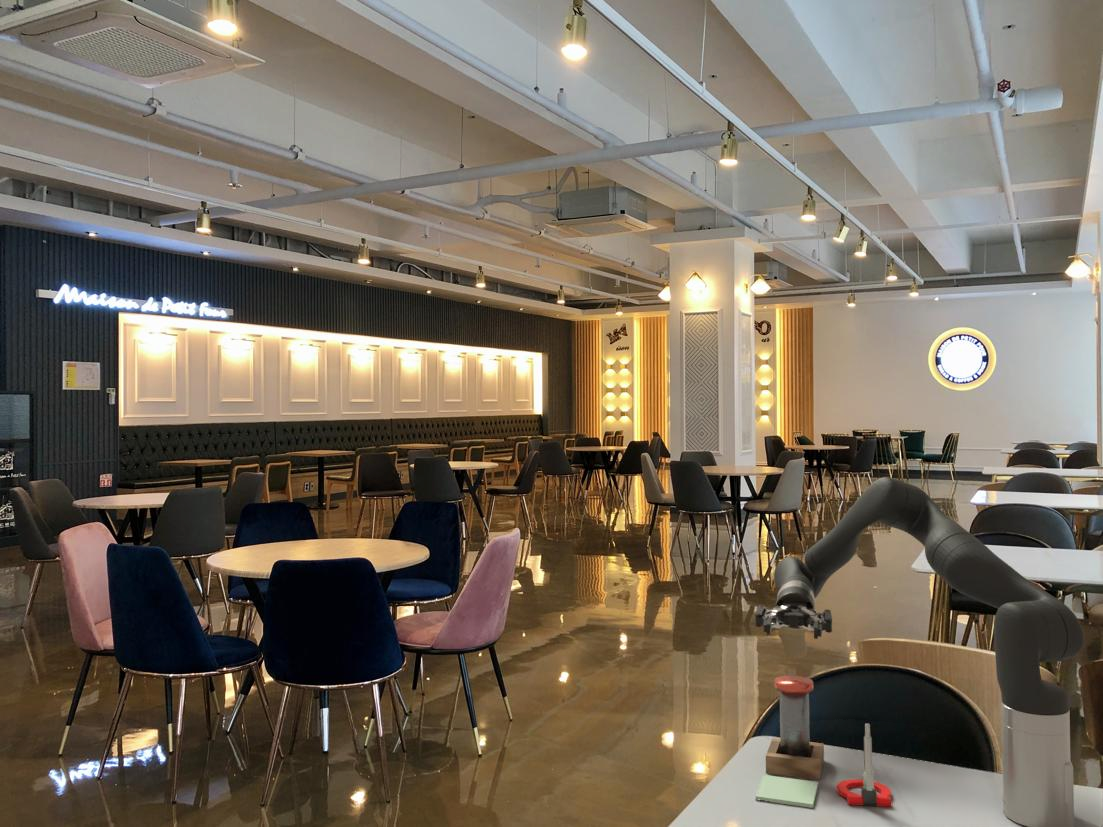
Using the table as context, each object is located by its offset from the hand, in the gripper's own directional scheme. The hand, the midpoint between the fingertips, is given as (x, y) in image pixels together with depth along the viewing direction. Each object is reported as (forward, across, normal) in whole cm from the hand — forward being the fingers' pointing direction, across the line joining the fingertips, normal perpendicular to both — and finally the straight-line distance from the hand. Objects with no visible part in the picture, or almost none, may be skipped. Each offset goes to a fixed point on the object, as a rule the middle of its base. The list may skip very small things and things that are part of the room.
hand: (792, 631), depth 166 cm
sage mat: (+22, 0, +20) cm, 29 cm away
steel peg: (+10, +1, +21) cm, 23 cm away
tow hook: (+20, +12, +20) cm, 30 cm away
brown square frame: (+10, +1, +21) cm, 23 cm away
